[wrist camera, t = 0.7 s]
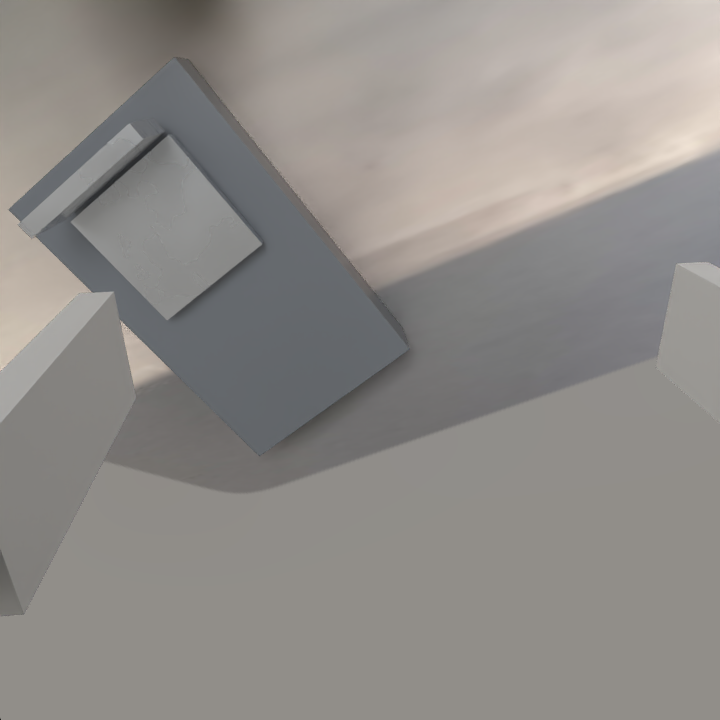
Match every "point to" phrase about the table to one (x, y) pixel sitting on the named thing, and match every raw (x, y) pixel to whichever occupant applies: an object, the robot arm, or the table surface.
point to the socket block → (239, 277)
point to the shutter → (152, 217)
